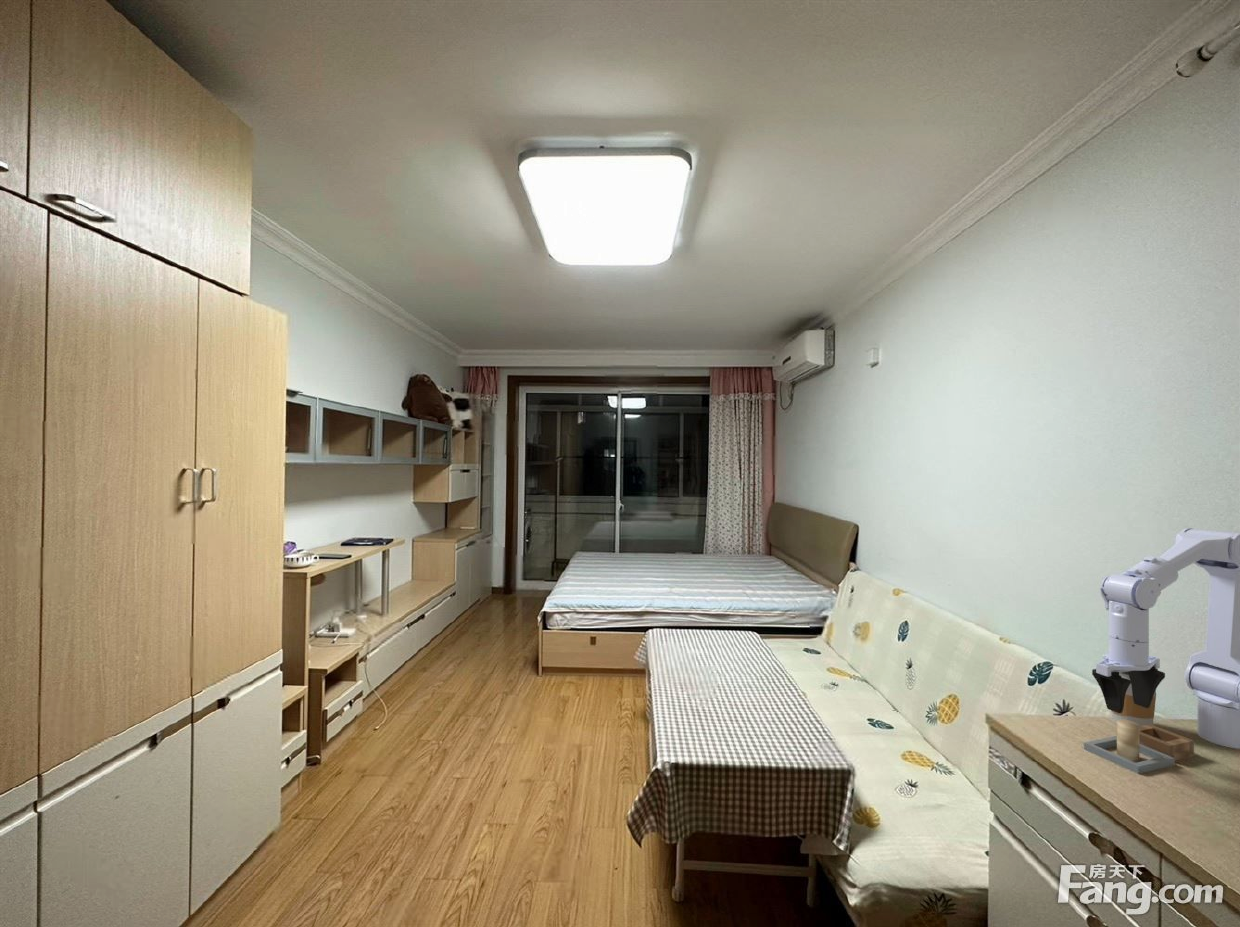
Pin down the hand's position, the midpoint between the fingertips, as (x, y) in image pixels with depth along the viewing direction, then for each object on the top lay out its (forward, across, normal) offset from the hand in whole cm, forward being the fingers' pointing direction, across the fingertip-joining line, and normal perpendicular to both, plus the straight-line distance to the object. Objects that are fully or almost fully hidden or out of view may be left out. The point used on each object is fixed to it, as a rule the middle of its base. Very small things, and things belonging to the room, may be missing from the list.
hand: (1128, 708), depth 106 cm
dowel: (+10, 0, 0) cm, 10 cm away
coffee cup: (+11, -16, -9) cm, 22 cm away
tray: (+10, 0, 0) cm, 10 cm away
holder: (+10, -9, 0) cm, 14 cm away
